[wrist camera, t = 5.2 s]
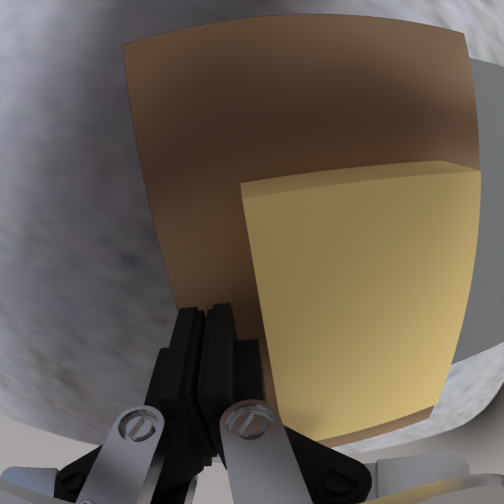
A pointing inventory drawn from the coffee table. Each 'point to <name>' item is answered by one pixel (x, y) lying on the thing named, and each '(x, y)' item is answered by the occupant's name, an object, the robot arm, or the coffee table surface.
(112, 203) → the coffee table surface
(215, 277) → the brown wooden block
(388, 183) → the tile
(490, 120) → the mat
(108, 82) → the coffee table surface
